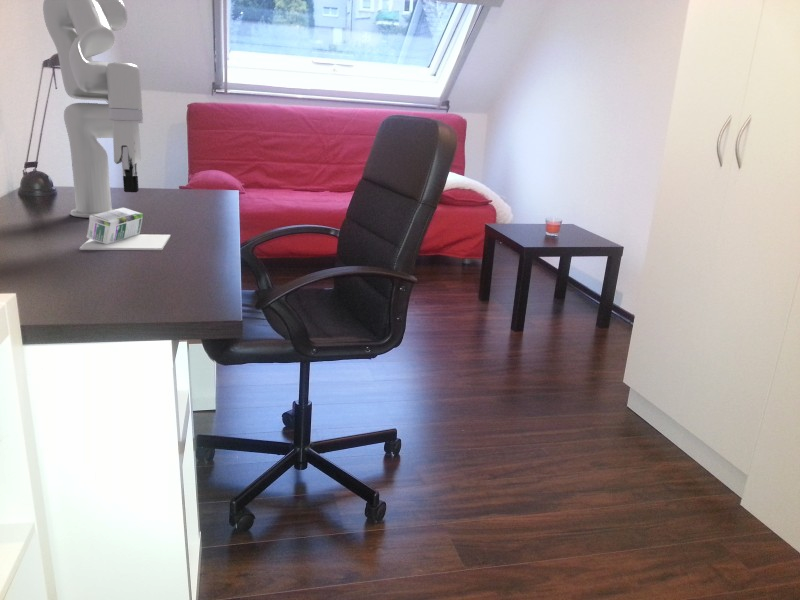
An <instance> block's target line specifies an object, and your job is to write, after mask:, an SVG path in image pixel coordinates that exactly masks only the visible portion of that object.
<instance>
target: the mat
mask: <svg viewBox="0 0 800 600" xmlns="http://www.w3.org/2000/svg"><path fill="white" fill-rule="evenodd" d="M170 238H171V234H144V233H143V234H138V235H134V236H131V237H128V238H125V239H122V240H119V241H116V242H113V243H110V244H104V243H101V242H98V241H95V240H92V239H89V238H88V240H86V242H84V243H83V244H82V245H81V246H80V247H79V249H78V250H79V251H86V250H87V251H96V250H97V251H162V250H163V249H164V247H165V246H166V245H167V244H168V241H169V240H170Z"/></svg>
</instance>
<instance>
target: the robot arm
mask: <svg viewBox="0 0 800 600" xmlns="http://www.w3.org/2000/svg"><path fill="white" fill-rule="evenodd" d="M42 12H43V18H44V23H45V26H46V28H47V31H48V33H49V36H50V37H51V40H52V41H53V44H54V46H55V48H56V51H57V57H58V62H59V67H60V74H61V77H62V82H63V87H64V90H65V92H66V95H67V96H68V97H70V98H71V99H74V100H84V101H101V102H102V101H103V102H106V103H97V102H75V103H70V104H68V105H67V106H66V107H65V109H64V112H63V120H64V125H65V128H66V133H67V137H68V141H69V148H70V157H71V168H72V178H73V188H74V189H73V190H74V202H75V208H74V209H71V210H70V215H71V216H73V217H76V218H84V219H85V218H88V219H89V216H91V215H95V214H99V213H103V212H107V211H111V210H115V209H116V208H112V196H111V195H112V194H111V183H110V171H109V159H108V158H109V157H108V153H107V150H106V149H105V148H104V146H103V145H102V144H101V143H100V142H99V141H98V140H97V139H112V142H113V162H114V164H115V165H119V164H121V165H122V167H121V168H122V180H123V192H124V193H137V192H139V176H138V165H137V163H139V162H141V158H142V157H141V156H142V153H141V137H140V127H139V124H144V118H143V117H144V115H143V102H142V101H143V99H142V86H141V84H142V83H141V70H140V67H139V66H138V65H136V64H134V63H129V62H111V61H110V62H109V61H99V60H93V57H95V56H98V55H100V54H104V53H106V52H107V51H108V50H110V49H111V48H112V47H113V45H114V43H115V41H116V40H115V38H116V37H115V34H114V32H117V31H121V30H123V29H124V28H125V27H126V25H127V23H128V11H127V7H126V5H125V3H124V2H123V0H43V4H42Z"/></svg>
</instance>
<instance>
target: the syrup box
mask: <svg viewBox="0 0 800 600" xmlns="http://www.w3.org/2000/svg"><path fill="white" fill-rule="evenodd" d="M114 209H115V210H111V211H107V212H103V213H99V214H95V215H91V216H89V218H88V225H87V231H86V238H87V239H88V240H89V239H92V240H95V241H98V242H101V243H104V244H110V243H113V242H116V241H119V240H122V239H125V238H128V237H131V236H134V235H138V234H140V233H141V228H142V223H143V217H144V213H142V212H139V211H135V210H133V209H130V208H126V207H119V208H114Z"/></svg>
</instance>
